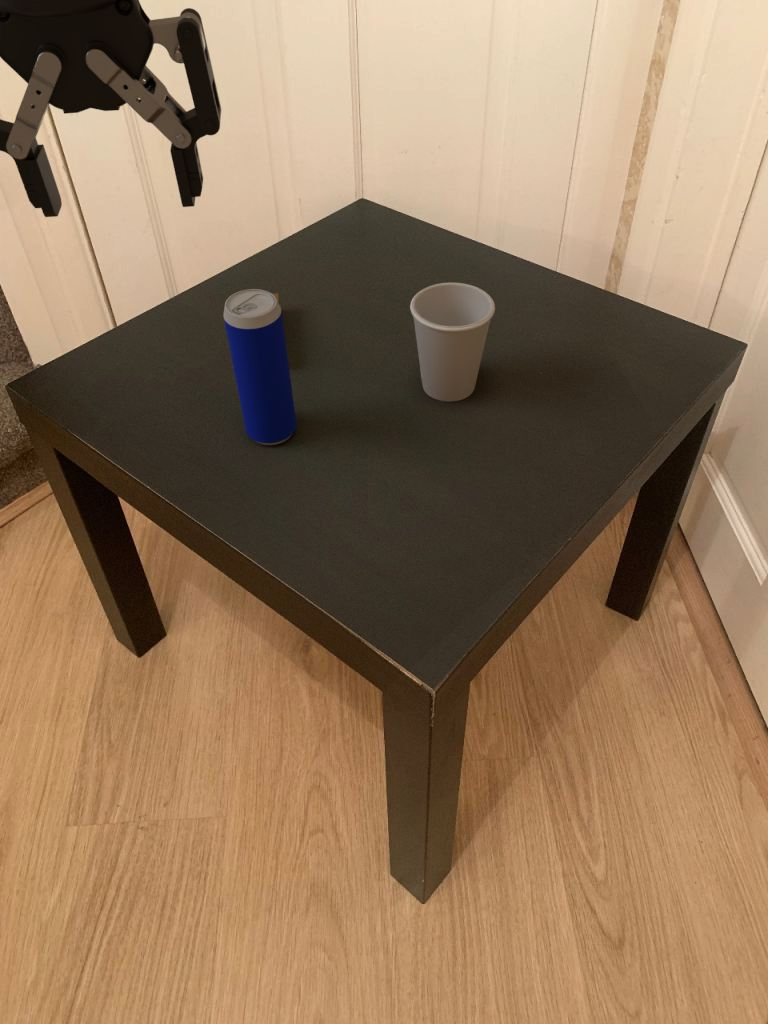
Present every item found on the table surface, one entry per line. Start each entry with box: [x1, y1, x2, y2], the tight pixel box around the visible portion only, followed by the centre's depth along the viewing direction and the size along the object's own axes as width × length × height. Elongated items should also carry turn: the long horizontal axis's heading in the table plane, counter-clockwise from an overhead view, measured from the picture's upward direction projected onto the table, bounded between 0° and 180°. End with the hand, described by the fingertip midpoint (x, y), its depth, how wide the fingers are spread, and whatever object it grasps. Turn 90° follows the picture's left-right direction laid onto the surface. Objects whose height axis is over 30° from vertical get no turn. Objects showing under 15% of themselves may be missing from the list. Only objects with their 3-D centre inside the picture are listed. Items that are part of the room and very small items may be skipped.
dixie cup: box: [409, 282, 496, 402], centre depth 82 cm, size 8×8×10 cm
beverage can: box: [222, 288, 297, 446], centre depth 75 cm, size 5×5×15 cm
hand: (121, 206), depth 50 cm, fingers open, 8 cm apart
